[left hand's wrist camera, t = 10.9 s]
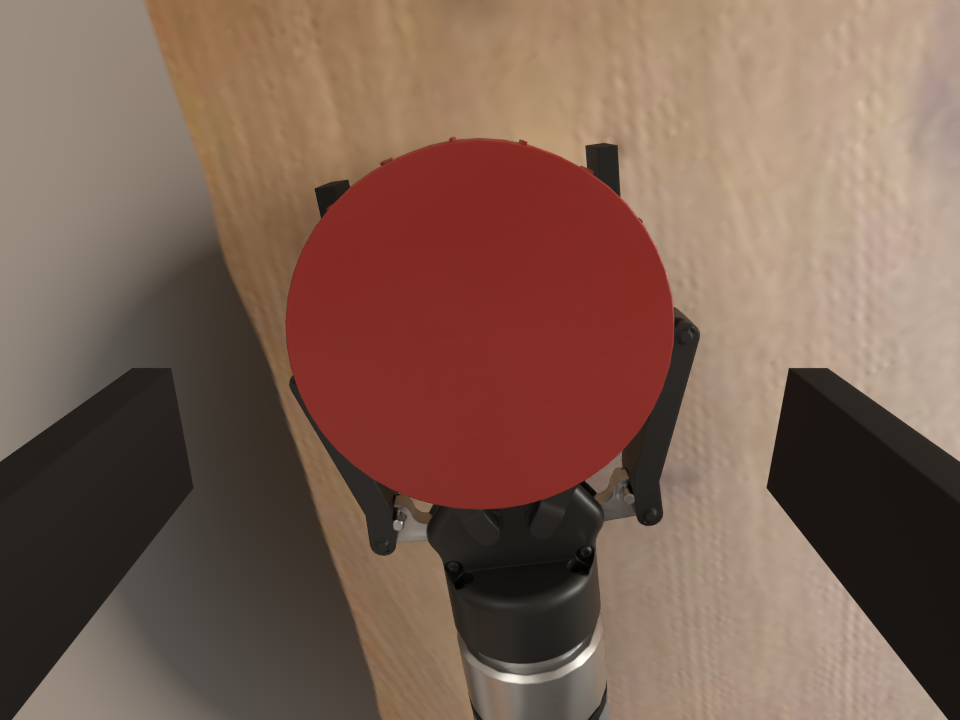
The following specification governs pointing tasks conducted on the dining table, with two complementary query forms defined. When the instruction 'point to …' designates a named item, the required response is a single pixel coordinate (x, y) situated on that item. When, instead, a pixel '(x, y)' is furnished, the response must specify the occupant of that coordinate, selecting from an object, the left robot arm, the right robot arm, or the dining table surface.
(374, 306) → the lid
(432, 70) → the dining table surface
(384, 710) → the dining table surface
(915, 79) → the dining table surface
